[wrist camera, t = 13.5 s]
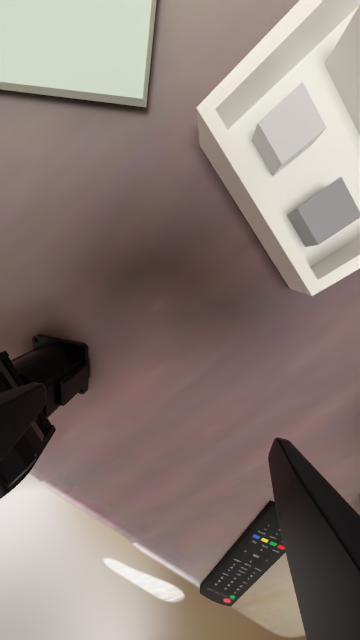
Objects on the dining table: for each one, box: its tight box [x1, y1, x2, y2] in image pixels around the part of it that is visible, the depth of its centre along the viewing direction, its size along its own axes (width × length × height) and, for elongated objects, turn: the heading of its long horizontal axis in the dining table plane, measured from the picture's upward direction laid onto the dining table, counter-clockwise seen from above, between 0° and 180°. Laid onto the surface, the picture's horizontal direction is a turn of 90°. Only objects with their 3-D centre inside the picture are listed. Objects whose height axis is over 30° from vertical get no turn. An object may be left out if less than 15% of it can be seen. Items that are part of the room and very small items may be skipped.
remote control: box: [200, 501, 286, 606], centre depth 29 cm, size 5×24×1 cm, turn 160°
